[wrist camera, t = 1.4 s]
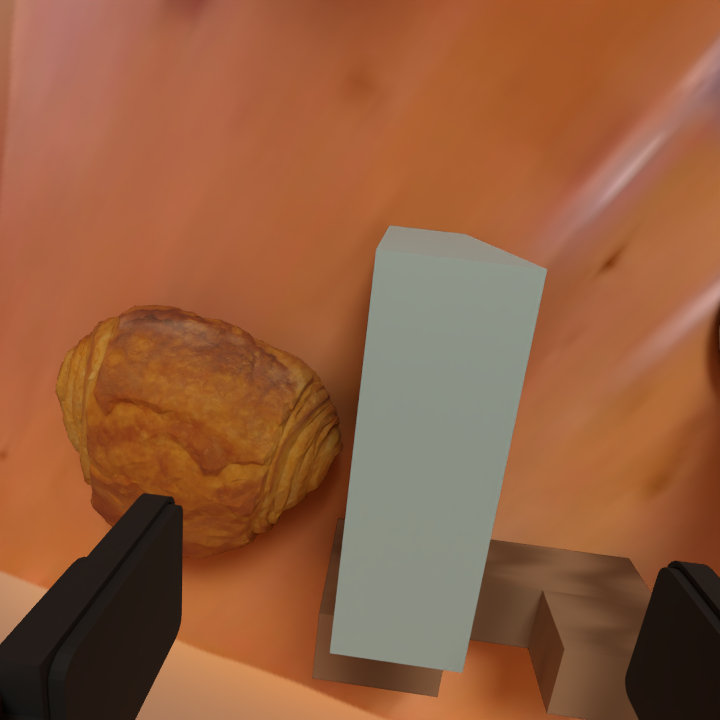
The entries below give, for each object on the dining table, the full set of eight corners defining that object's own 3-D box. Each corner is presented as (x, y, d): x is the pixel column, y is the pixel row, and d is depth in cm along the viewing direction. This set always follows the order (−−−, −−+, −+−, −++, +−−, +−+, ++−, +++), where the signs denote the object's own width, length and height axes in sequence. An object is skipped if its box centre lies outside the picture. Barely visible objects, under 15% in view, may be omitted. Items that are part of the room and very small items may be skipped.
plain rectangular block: (389, 225, 28) (376, 249, 12) (465, 234, 28) (546, 269, 12) (364, 433, 31) (329, 653, 16) (431, 442, 31) (462, 672, 16)
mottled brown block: (629, 558, 32) (700, 668, 24) (613, 611, 33) (676, 732, 26) (338, 518, 33) (319, 613, 25) (332, 571, 34) (312, 678, 26)
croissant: (148, 258, 31) (46, 259, 24) (380, 376, 30) (351, 418, 22) (80, 456, 35) (-27, 513, 28) (284, 569, 34) (232, 661, 26)
